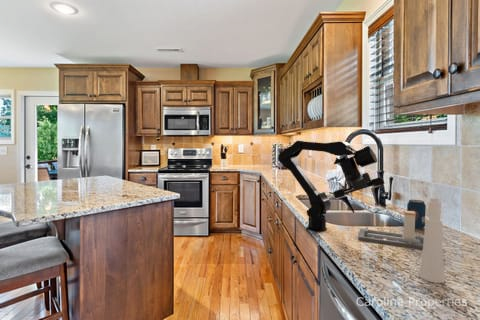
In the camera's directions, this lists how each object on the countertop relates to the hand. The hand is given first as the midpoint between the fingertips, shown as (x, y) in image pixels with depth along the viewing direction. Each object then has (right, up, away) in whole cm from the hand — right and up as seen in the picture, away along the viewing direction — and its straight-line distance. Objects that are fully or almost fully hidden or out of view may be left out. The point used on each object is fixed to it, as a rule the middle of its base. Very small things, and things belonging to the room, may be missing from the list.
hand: (365, 209), depth 105 cm
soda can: (+30, -11, +17) cm, 36 cm away
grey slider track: (+10, -12, 0) cm, 16 cm away
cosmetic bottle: (+4, -13, -31) cm, 34 cm away
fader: (+15, -11, -3) cm, 18 cm away
